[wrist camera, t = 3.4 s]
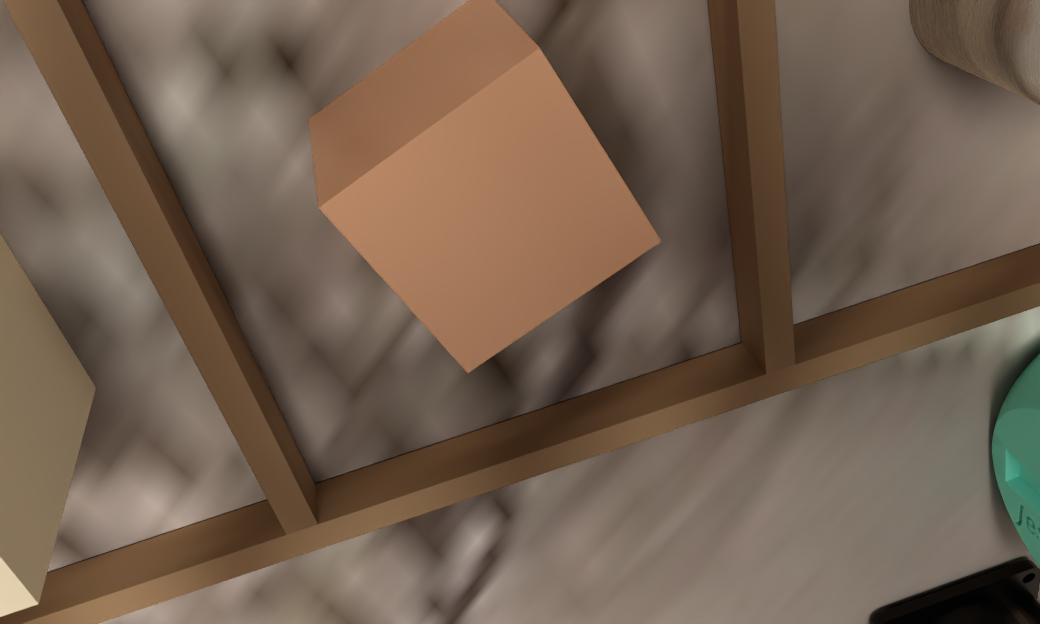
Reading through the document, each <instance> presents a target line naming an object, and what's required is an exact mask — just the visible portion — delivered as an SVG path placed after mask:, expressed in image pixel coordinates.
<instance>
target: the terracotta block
mask: <svg viewBox="0 0 1040 624" xmlns="http://www.w3.org/2000/svg"><path fill="white" fill-rule="evenodd" d="M308 122H309V130H310V139H311V147H312V156H313V164H314V173H315V181H316V190H317V198H318V207H319V209H320V210H321V211H322V212H323V213H324V214H325V215H326V216H327V218H328V219H329V220H330V221H331V222H332V223H333V224H334V225H335V226H336V228H337V229H338V230H339V231H340V232H341V233H342V234H343V235H344V236H345V238H346V239H347V240H348V241H349V242H350V243H351V244H352V245H353V246H354V248H355V249H356V250H357V251H358V252H359V253H360V254H361V255H362V256H363V257H364V259H365V260H366V261H367V262H368V263H369V264H370V265H371V266H372V267H373V269H374V270H375V271H376V272H377V273H378V274H379V275H380V276H381V277H382V279H383V280H384V281H385V282H386V283H387V284H388V285H389V286H390V287H391V289H392V290H393V291H394V292H395V293H396V294H397V295H398V296H399V297H400V299H401V300H402V301H403V302H404V303H405V304H406V305H407V306H408V307H409V309H410V310H411V311H412V312H413V313H414V314H415V315H416V316H417V317H418V318H419V320H420V321H421V322H422V323H423V324H424V325H425V326H426V327H427V328H428V330H429V331H430V332H431V333H432V334H433V335H434V336H435V337H436V338H437V340H438V341H439V342H440V343H441V344H442V345H443V346H444V347H445V348H446V350H447V351H448V352H449V353H450V354H451V355H452V356H453V357H454V358H455V360H456V361H457V362H458V363H459V364H460V365H461V366H462V367H463V368H464V369H465V371H466V372H467V373H469V372H470V371H472V370H473V369H475V368H476V367H478V366H479V365H481V364H482V363H484V362H485V361H487V360H488V359H490V358H491V357H492V356H494V355H495V354H497V353H498V352H500V351H501V350H503V349H504V348H506V347H507V346H509V345H510V344H512V343H513V342H514V341H516V340H517V339H519V338H520V337H522V336H523V335H525V334H526V333H528V332H529V331H531V330H532V329H534V328H535V327H537V326H538V325H539V324H541V323H542V322H544V321H545V320H547V319H548V318H550V317H551V316H553V315H554V314H556V313H557V312H559V311H560V310H561V309H563V308H564V307H566V306H567V305H569V304H570V303H572V302H573V301H575V300H576V299H578V298H579V297H581V296H582V295H584V294H585V293H586V292H588V291H589V290H591V289H592V288H594V287H595V286H597V285H598V284H600V283H601V282H603V281H604V280H606V279H607V278H608V277H610V276H611V275H613V274H614V273H616V272H617V271H619V270H620V269H622V268H623V267H625V266H626V265H628V264H629V263H630V262H632V261H633V260H635V259H636V258H638V257H639V256H641V255H642V254H644V253H645V252H647V251H648V250H650V249H651V248H653V247H654V246H655V245H657V244H658V243H660V242H661V240H660V238H659V236H658V235H657V233H656V232H655V230H654V228H653V227H652V225H651V224H650V222H649V220H648V219H647V217H646V216H645V214H644V213H643V211H642V209H641V208H640V206H639V205H638V203H637V201H636V200H635V198H634V197H633V195H632V193H631V192H630V190H629V189H628V187H627V186H626V184H625V182H624V181H623V179H622V178H621V176H620V174H619V173H618V171H617V170H616V168H615V166H614V165H613V163H612V162H611V160H610V159H609V157H608V155H607V154H606V152H605V151H604V149H603V147H602V146H601V144H600V143H599V141H598V140H597V138H596V136H595V135H594V133H593V132H592V130H591V128H590V127H589V125H588V124H587V122H586V120H585V119H584V117H583V116H582V114H581V113H580V111H579V109H578V108H577V106H576V105H575V103H574V101H573V100H572V98H571V97H570V95H569V93H568V92H567V90H566V89H565V87H564V86H563V84H562V82H561V81H560V79H559V78H558V76H557V74H556V73H555V71H554V70H553V68H552V66H551V65H550V63H549V62H548V60H547V59H546V57H545V55H544V54H543V52H542V51H541V49H540V48H539V46H538V45H537V44H536V43H535V42H534V41H533V40H532V39H531V38H530V37H529V36H528V35H527V34H526V33H525V32H524V30H523V29H522V28H521V27H520V26H519V25H518V24H517V23H516V22H515V21H514V20H513V19H512V18H511V17H510V16H509V14H508V13H507V12H506V11H505V10H504V9H503V8H502V7H501V6H500V5H499V4H498V3H497V2H496V1H495V0H470V1H468V2H467V3H466V4H464V5H463V6H461V7H460V8H459V9H457V10H456V11H455V12H453V13H452V14H451V15H449V16H448V17H447V18H445V19H444V20H442V21H441V22H440V23H438V24H437V25H436V26H434V27H433V28H432V29H430V30H429V31H428V32H426V33H425V34H424V35H422V36H421V37H419V38H418V39H417V40H415V41H414V42H413V43H411V44H410V45H409V46H407V47H406V48H405V49H403V50H402V51H401V52H399V53H398V54H396V55H395V56H394V57H392V58H391V59H390V60H388V61H387V62H386V63H384V64H383V65H382V66H380V67H379V68H378V69H376V70H375V71H373V72H372V73H371V74H369V75H368V76H367V77H365V78H364V79H363V80H361V81H360V82H359V83H357V84H356V85H355V86H353V87H352V88H350V89H349V90H348V91H346V92H345V93H344V94H342V95H341V96H340V97H338V98H337V99H336V100H334V101H333V102H332V103H330V104H329V105H327V106H326V107H325V108H323V109H322V110H321V111H319V112H318V113H317V114H315V115H314V116H313V117H311V118H310V119H309V120H308Z"/></svg>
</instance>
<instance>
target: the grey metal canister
mask: <svg viewBox="0 0 1040 624" xmlns="http://www.w3.org/2000/svg"><path fill="white" fill-rule="evenodd" d="M909 10H910V18H911V23H912V26H913V29H914V32H915V34H916V36H917V38H918V40H919V42H920V43H921V44H922V46H923V47H924V48H925V49H926V50H927V51H928V52H929V53H930V54H932V55H933V56H935V57H936V58H938V59H940V60H942V61H945V62H947V63H949V64H951V65H953V66H956V67H958V68H960V69H962V70H964V71H967V72H969V73H971V74H973V75H975V76H978V77H980V78H982V79H984V80H987V81H989V82H991V83H993V84H995V85H998V86H1000V87H1002V88H1004V89H1006V90H1009V91H1011V92H1013V93H1015V94H1017V95H1020V96H1022V97H1024V98H1026V99H1028V100H1031V101H1033V102H1035V103H1037V104H1040V0H909Z"/></svg>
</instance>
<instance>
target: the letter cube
mask: <svg viewBox="0 0 1040 624" xmlns="http://www.w3.org/2000/svg"><path fill="white" fill-rule="evenodd" d="M95 389H96V387H95V385H94V384H93V382H92V380H91V379H90V377H89V376H88V374H87V372H86V371H85V369H84V368H83V366H82V364H81V363H80V361H79V359H78V358H77V356H76V355H75V353H74V351H73V350H72V348H71V347H70V345H69V343H68V342H67V340H66V339H65V337H64V335H63V334H62V332H61V331H60V329H59V327H58V326H57V324H56V322H55V321H54V319H53V318H52V316H51V314H50V313H49V311H48V310H47V308H46V306H45V305H44V303H43V302H42V300H41V298H40V297H39V295H38V294H37V292H36V290H35V289H34V287H33V285H32V284H31V282H30V281H29V279H28V277H27V276H26V274H25V273H24V271H23V269H22V268H21V266H20V265H19V263H18V261H17V260H16V258H15V257H14V255H13V253H12V252H11V250H10V248H9V247H8V245H7V244H6V242H5V240H4V239H3V237H2V236H1V234H0V617H2V616H5V615H8V614H11V613H14V612H17V611H20V610H23V609H26V608H29V607H32V606H35V605H38V604H39V601H40V597H41V593H42V590H43V586H44V582H45V578H46V574H47V571H48V567H49V563H50V559H51V556H52V552H53V548H54V544H55V540H56V537H57V533H58V529H59V525H60V522H61V518H62V514H63V510H64V507H65V503H66V499H67V495H68V491H69V488H70V484H71V480H72V476H73V473H74V469H75V465H76V461H77V457H78V454H79V450H80V446H81V442H82V439H83V435H84V431H85V427H86V423H87V420H88V416H89V412H90V408H91V405H92V401H93V397H94V393H95Z"/></svg>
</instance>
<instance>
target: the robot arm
mask: <svg viewBox="0 0 1040 624" xmlns="http://www.w3.org/2000/svg"><path fill="white" fill-rule="evenodd" d="M1039 585H1040V569H1039V568H1038V567H1037V566H1036V565H1035V564H1034V563H1033V562H1032V561H1031V560H1025V561H1021V562H1018V563H1016V564H1013V565H1010V566H1007V567H1004V568H1002V569H999V570H996V571H993V572H991V573H988V574H985V575H982V576H980V577H977V578H974V579H971V580H968V581H966V582H963V583H960V584H957V585H955V586H952V587H949V588H946V589H944V590H941V591H938V592H935V593H933V594H930V595H927V596H924V597H921V598H919V599H916V600H913V601H910V602H908V603H905V604H902V605H899V606H897V607H894V608H891V609H888V610H885V611H883V612H881V613H879V614H878V615H876V616H875V617H874V618H873V620H872V622H871V624H1040V602H1039V601H1038V600H1037V597H1038V591H1039Z"/></svg>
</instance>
